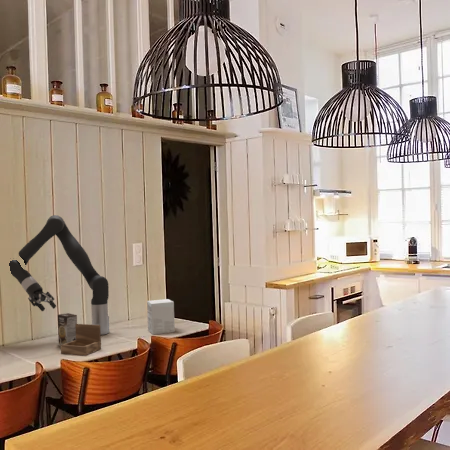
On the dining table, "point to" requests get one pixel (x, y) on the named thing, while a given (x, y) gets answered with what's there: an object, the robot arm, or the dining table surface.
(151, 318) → the supplement box
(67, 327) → the coffee box
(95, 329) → the open walnut box
